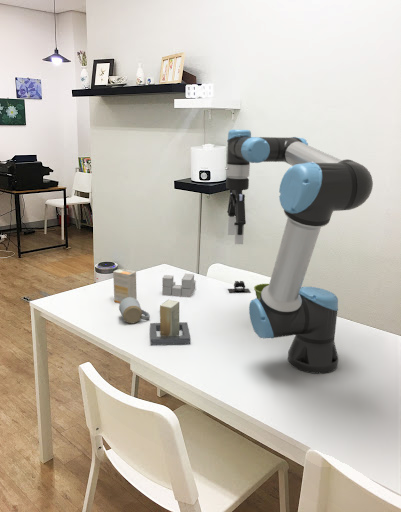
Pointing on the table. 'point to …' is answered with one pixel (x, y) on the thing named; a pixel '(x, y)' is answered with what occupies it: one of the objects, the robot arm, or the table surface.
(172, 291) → the puzzle cube
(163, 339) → the grey frame stand
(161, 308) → the skincare box
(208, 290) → the table surface
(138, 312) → the ceramic mug
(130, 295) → the supplement box
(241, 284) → the black bracket
